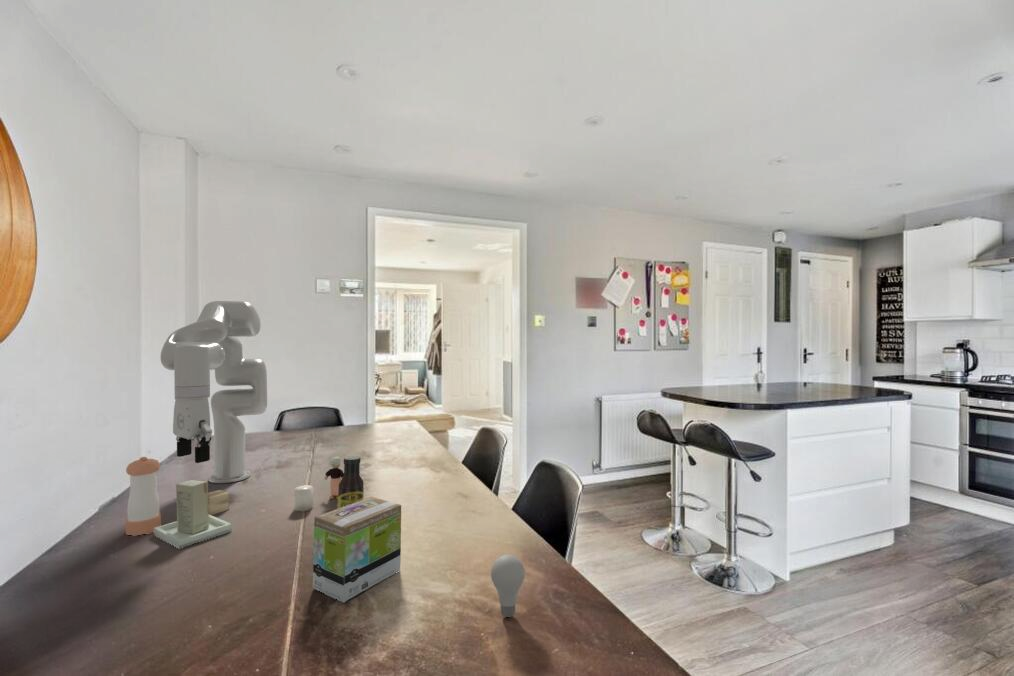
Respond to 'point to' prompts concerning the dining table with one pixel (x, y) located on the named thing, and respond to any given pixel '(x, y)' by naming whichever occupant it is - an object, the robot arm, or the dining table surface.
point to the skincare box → (192, 506)
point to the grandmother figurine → (334, 476)
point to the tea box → (356, 547)
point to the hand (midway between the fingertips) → (193, 458)
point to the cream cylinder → (303, 498)
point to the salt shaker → (143, 497)
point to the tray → (186, 539)
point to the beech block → (218, 502)
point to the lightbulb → (507, 581)
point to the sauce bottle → (350, 483)
